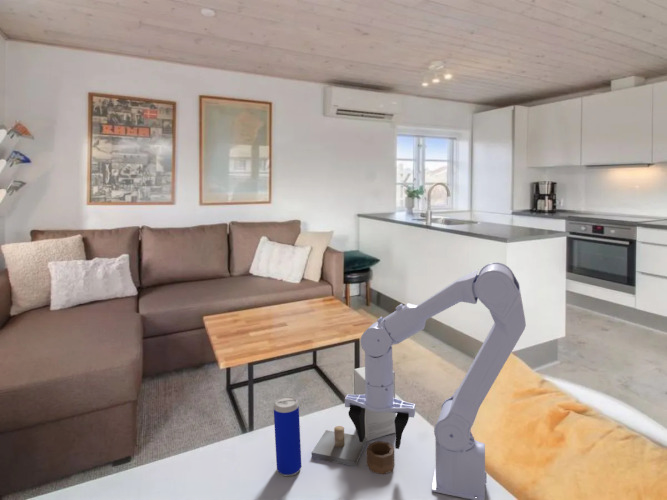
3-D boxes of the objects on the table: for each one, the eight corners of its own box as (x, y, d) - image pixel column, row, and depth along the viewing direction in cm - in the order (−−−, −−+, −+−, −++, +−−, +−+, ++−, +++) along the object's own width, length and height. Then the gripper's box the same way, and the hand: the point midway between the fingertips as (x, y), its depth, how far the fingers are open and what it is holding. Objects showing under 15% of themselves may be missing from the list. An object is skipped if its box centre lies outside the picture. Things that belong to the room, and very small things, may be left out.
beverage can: (302, 460, 87) (299, 395, 85) (301, 476, 82) (297, 407, 80) (278, 462, 87) (274, 396, 85) (275, 478, 82) (271, 408, 80)
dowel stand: (366, 441, 93) (366, 421, 92) (355, 466, 85) (354, 444, 84) (326, 434, 96) (325, 415, 96) (311, 457, 88) (310, 436, 87)
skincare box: (384, 420, 102) (383, 361, 100) (397, 434, 96) (397, 371, 94) (354, 428, 99) (352, 367, 97) (366, 442, 93) (364, 378, 91)
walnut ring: (395, 459, 86) (395, 443, 86) (390, 475, 81) (390, 459, 81) (371, 454, 88) (371, 439, 88) (365, 470, 83) (364, 454, 83)
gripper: (417, 377, 84) (417, 437, 86) (351, 369, 89) (352, 426, 90) (412, 392, 77) (412, 457, 79) (340, 382, 82) (342, 444, 84)
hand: (379, 442), depth 84 cm, fingers open, 7 cm apart
